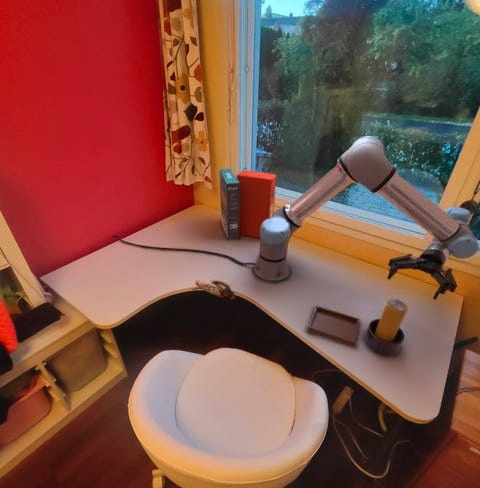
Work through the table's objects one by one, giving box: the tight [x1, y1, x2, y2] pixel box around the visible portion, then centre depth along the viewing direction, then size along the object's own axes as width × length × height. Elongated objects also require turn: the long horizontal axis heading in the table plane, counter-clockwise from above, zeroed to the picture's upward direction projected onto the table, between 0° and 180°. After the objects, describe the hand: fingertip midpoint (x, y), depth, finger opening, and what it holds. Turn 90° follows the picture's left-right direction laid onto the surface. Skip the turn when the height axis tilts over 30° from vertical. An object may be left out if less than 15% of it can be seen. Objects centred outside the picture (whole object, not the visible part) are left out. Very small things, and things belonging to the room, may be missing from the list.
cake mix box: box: [218, 168, 240, 240], centre depth 149 cm, size 22×6×30 cm, turn 12°
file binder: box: [236, 169, 277, 239], centre depth 145 cm, size 8×17×32 cm, turn 68°
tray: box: [307, 305, 360, 348], centre depth 98 cm, size 15×12×2 cm
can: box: [374, 298, 409, 343], centre depth 89 cm, size 6×6×16 cm
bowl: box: [364, 318, 405, 357], centre depth 92 cm, size 10×10×6 cm
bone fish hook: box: [195, 279, 236, 301], centre depth 113 cm, size 9×5×18 cm
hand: (411, 285), depth 89 cm, fingers open, 13 cm apart
